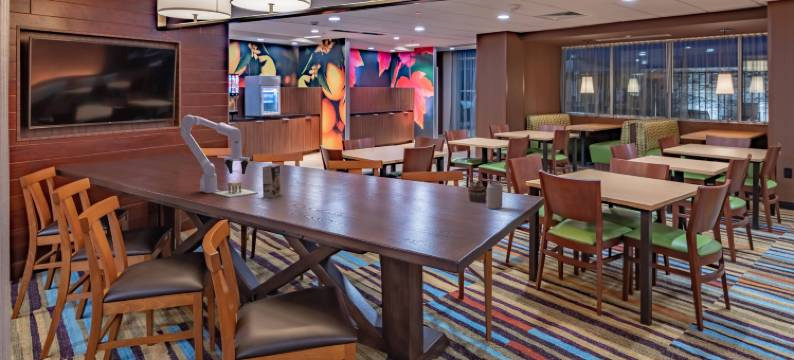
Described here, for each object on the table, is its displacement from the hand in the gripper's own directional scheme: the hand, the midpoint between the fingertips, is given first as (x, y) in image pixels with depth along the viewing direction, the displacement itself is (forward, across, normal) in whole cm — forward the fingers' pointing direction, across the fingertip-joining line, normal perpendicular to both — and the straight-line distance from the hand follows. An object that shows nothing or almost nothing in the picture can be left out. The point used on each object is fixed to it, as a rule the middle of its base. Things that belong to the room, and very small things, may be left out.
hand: (237, 173), depth 315 cm
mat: (+9, +4, -10) cm, 14 cm away
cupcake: (+10, +134, -3) cm, 135 cm away
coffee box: (+10, +26, -13) cm, 31 cm away
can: (+10, +143, -19) cm, 145 cm away
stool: (+9, +4, -10) cm, 14 cm away
